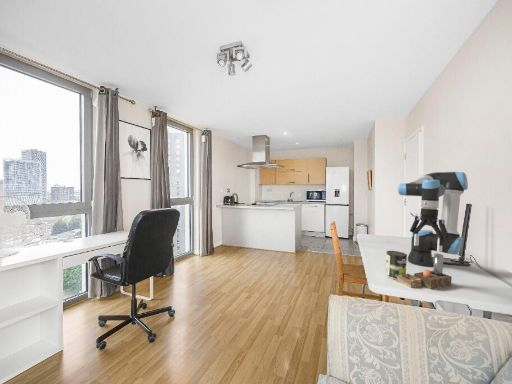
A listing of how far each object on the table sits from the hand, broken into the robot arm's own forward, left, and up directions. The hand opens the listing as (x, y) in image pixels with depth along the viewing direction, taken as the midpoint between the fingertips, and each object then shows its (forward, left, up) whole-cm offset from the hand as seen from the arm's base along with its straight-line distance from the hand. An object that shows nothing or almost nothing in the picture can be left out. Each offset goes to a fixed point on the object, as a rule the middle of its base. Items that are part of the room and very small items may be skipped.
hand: (427, 248), depth 123 cm
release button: (0, 0, -17) cm, 17 cm away
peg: (-9, 0, -20) cm, 22 cm away
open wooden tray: (+7, -4, -20) cm, 22 cm away
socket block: (-5, 0, -20) cm, 21 cm away
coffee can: (+6, -13, -20) cm, 25 cm away
